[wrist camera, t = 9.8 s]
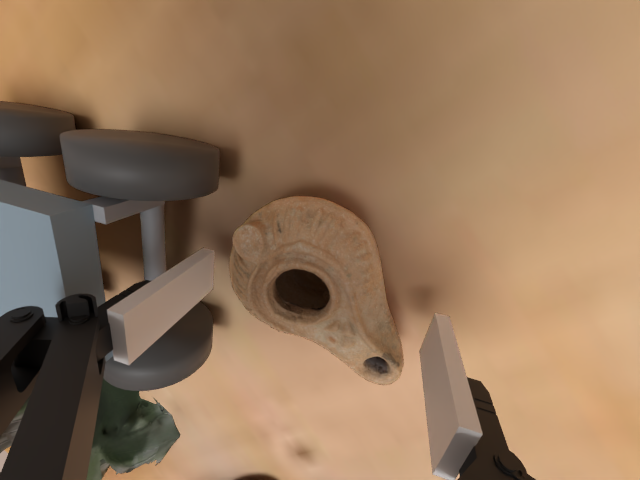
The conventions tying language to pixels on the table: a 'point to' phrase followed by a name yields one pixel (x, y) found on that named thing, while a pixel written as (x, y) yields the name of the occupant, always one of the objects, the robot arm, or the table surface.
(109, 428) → the rose bouquet
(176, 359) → the dolly
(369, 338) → the pottery oil lamp
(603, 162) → the table surface
